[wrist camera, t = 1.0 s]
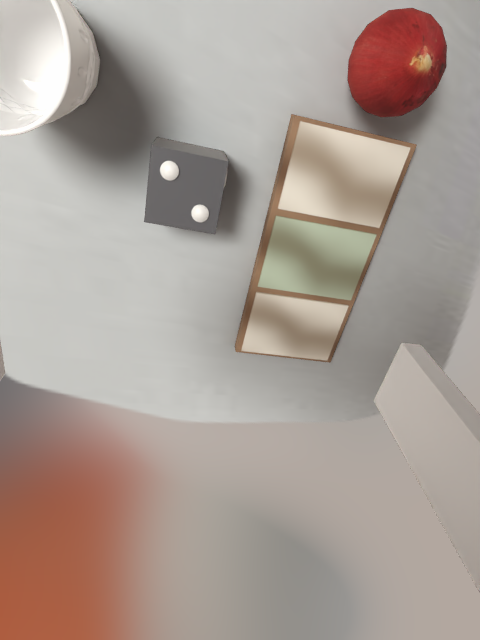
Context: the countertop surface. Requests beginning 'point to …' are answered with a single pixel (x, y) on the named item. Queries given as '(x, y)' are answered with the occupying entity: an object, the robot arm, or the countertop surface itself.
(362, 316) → the countertop surface
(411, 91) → the onion
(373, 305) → the countertop surface
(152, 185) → the die
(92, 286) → the countertop surface
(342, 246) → the board
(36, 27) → the white cup
